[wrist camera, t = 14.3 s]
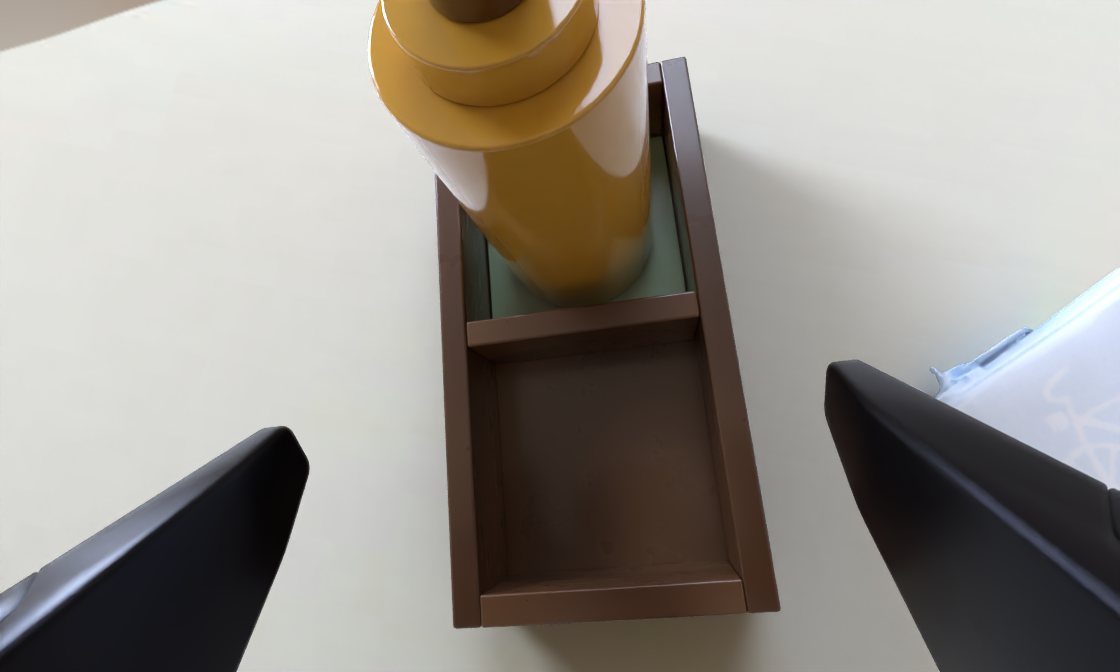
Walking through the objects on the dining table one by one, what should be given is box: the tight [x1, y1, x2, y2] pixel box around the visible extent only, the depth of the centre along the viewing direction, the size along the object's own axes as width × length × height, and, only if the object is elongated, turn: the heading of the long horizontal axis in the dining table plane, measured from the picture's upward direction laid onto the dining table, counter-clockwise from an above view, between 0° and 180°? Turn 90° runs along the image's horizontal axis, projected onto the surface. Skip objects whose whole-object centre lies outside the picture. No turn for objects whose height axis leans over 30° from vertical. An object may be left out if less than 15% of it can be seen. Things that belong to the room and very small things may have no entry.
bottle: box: [368, 0, 654, 308], centre depth 13 cm, size 5×5×13 cm
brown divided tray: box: [435, 57, 781, 629], centre depth 18 cm, size 8×16×4 cm, turn 5°
